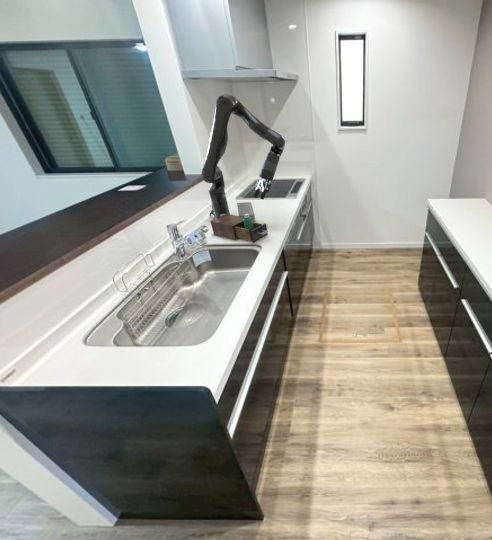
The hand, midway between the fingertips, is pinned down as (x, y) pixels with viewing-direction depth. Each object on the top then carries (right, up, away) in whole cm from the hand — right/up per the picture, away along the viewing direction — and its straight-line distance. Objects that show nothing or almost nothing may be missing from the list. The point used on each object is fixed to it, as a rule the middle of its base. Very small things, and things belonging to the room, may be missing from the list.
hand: (258, 198), depth 166 cm
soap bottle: (-5, -20, 0) cm, 21 cm away
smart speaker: (-13, -10, +22) cm, 28 cm away
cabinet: (-17, -19, +8) cm, 27 cm away
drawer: (-3, -22, +1) cm, 22 cm away
